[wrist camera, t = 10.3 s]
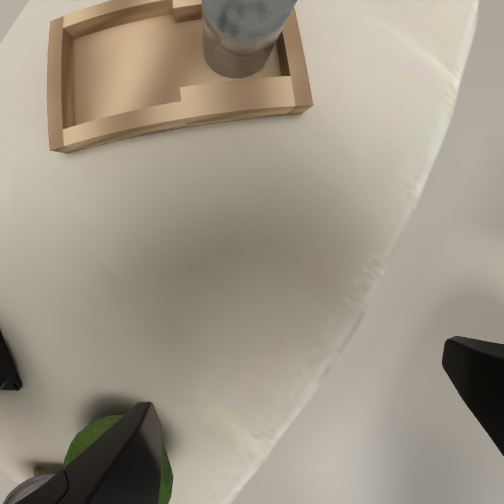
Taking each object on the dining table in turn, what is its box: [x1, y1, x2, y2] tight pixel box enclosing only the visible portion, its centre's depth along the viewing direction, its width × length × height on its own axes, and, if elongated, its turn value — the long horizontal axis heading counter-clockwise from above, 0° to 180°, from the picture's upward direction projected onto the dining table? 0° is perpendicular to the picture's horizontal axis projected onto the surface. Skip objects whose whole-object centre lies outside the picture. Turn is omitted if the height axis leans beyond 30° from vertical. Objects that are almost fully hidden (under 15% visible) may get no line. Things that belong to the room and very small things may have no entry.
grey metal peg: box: [201, 0, 297, 78], centre depth 13 cm, size 4×4×8 cm
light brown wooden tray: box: [47, 0, 313, 153], centre depth 16 cm, size 15×9×2 cm, turn 97°
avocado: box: [63, 415, 173, 504], centre depth 16 cm, size 8×8×12 cm
